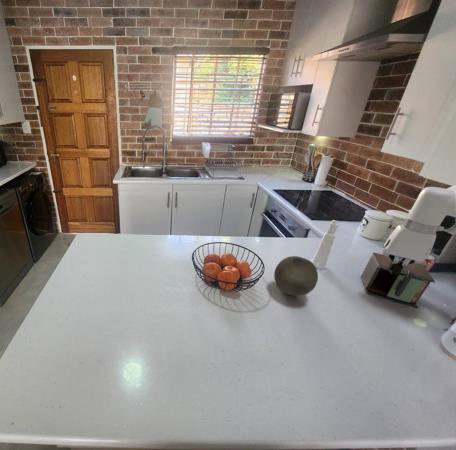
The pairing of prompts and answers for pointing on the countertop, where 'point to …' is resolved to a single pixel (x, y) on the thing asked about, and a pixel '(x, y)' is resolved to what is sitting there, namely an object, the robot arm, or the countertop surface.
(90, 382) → the countertop surface
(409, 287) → the sliding door
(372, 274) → the cupboard
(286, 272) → the cantaloupe
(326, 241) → the cosmetic bottle
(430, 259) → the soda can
